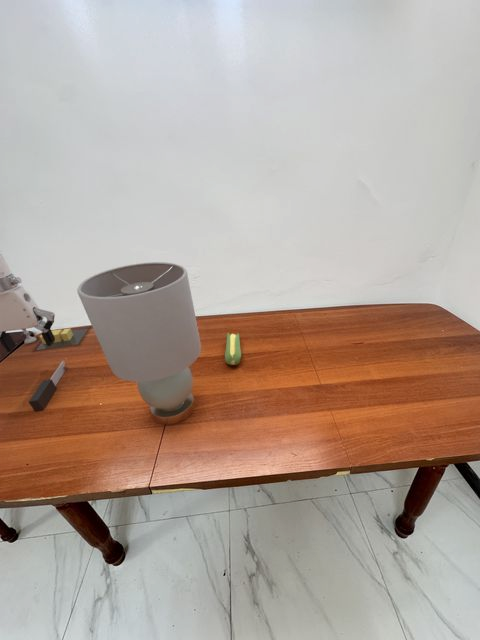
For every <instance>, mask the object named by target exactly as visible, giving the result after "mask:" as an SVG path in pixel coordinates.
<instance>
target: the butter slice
mask: <svg viewBox="0 0 480 640" xmlns="http://www.w3.org/2000/svg"><path fill="white" fill-rule="evenodd" d="M62 331H63V332H62V333H61V336H62V338H63V340H64V341H69V340H70V339H71V338H72V336H73V333H72V331H73V330H72V329H71V327H69V328H64V329H62Z"/></svg>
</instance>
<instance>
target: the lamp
mask: <svg viewBox="0 0 480 640" xmlns="http://www.w3.org/2000/svg"><path fill="white" fill-rule="evenodd" d="M188 275H189V274H188V271H187V269H186V268H185V267H184V266H183V265H181V264H177V263H173V262H164V261H163V262H161V261H160V262H159V261H158V262H157V261H156V262H152V261H151V262H142V263H141V262H140V263H133V264H127V265H122V266H117V267H114V268H110V269H106V270H104V271H101V272H99V273H95V274H93V275H92V276H89V277H87V278H86V279H84V280H83V281H81V283H79V285H78V286H77V288H76V289H77V291H76V292H77V295H78V297H79V300H80V301H81V304H82V306H83V309H84V311H85V313H86V316H87V317H88V320H89V322H90V325H91V327H92V330H93V332H94V334H95V337H96V339H97V341H98V343H99V345H100V348H101V349H102V353H103V355H104V357H105V360H106V362H107V364H108V367H109V369H110V371H111V372H112V374H113V375H114V376H115V377H117V378H118V379H121V380H123V381H126V382H133V383H136V386H137V391H138V394H139V397H140V398H141V399H142V400H143V402H145V403H146V404H147V405H149V410H150V413H151V416H152V418H153V420H154V421H155V422H156V423H158V424H159V425H164V426H165V425H167V426H171V425H176V424H179V423H181V422H184V421H185V420H187V419H188V418H189V417H191V415H192V414H193V413H194V411H195V408H196V401H195V397H194V395H193V394H194V393H192V391H193V388H194V376H193V372H192V370H191V368H190V367H191V365H192V364H194V363H195V362H196V361H197V360H198V358H199V357H200V355H201V352H202V343H201V338H200V333H199V327H198V323H197V317H196V312H195V306H194V301H193V296H192V291H191V285H190V281H189V276H188Z"/></svg>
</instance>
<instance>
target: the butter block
mask: <svg viewBox="0 0 480 640" xmlns="http://www.w3.org/2000/svg"><path fill="white" fill-rule="evenodd" d="M51 331H52V333H53V335H54V337H55V341H54V342H61V341H62V339H63V338H62V336H61V333H62V332H63V329H62V328H61V329H53V330H52V329H51ZM39 338H40V341H41V343H42V342H43V344H46V342H45V340H44V338H43V337H42V335H41V334H40V335H39Z"/></svg>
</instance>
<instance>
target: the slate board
mask: <svg viewBox="0 0 480 640" xmlns="http://www.w3.org/2000/svg"><path fill="white" fill-rule="evenodd" d="M88 330H89V328H83V329H75V330H71V331H72V333H73V336H72V338H71V339H70V340H69V341H64V340H63V339H62V341H61V342H54V343H53V344H52V345H51V346H47V344H43V342H42V341H41V343H40V344H39V346H37V348H36V349H35V351H40V350H48V349H55V348H65V347H70V346H77V345H79V343H81V341H82V339H83V338H84V336H85V334H86V333H87V331H88Z"/></svg>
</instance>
